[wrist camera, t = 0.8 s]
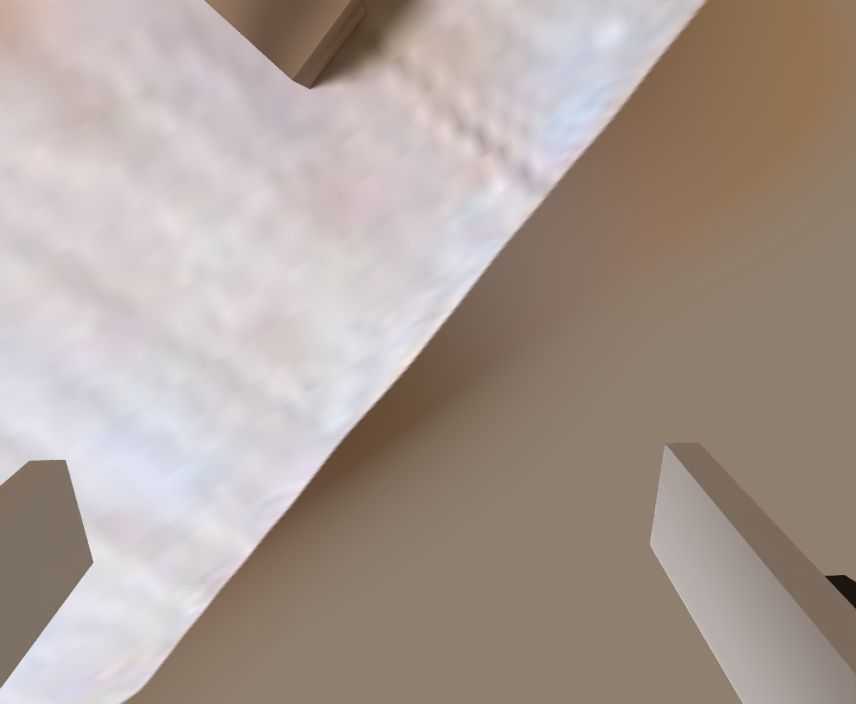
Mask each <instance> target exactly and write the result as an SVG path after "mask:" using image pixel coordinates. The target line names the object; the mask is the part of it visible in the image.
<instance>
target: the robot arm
mask: <svg viewBox="0 0 856 704" xmlns="http://www.w3.org/2000/svg"><path fill="white" fill-rule="evenodd" d="M650 546H651V548H652V549H653V551H654V553H655V555H656V556H657V558H658V560H659V561H660V563H661V565H662V566H663V568H664V570H665V571H666V573H667V575H668V577H669V578H670V580H671V581H672V584H673V585H674V587H675V589H676V590H677V592H678V594H679V596H680V597H681V599H682V601H683V602H684V604H685V606H686V607H687V609H688V611H689V613H690V614H691V616H692V618H693V619H694V621H695V623H696V624H697V626H698V628H699V630H700V631H701V633H702V635H703V637H704V638H705V640H706V642H707V643H708V645H709V647H710V648H711V650H712V652H713V654H714V655H715V657H716V658H717V660H718V662H719V664H720V666H721V667H722V669H723V671H724V672H725V674H726V676H727V678H728V679H729V681H730V683H731V684H732V686H733V688H734V689H735V691H736V693H737V695H738V696H739V698H740V700H741V701H742V703H743V704H856V582H855V581H853V580H852V579H850V578H848V577H847V576H845V575H836V576H824V575H823V574H822V573H821V572H820V571H819V570H818V568H817V567H816V566H815V565H814V564H813V563H812V562H811V561H810V560H809V559H808V558H807V557H806V556H805V555H804V554H803V553H802V551H800V549H799V548H798V547H797V546H796V545H795V544H794V543H793V542H792V541H791V540H790V539H789V538H788V537H787V535H786V534H784V532H783V531H782V530H781V529H780V528H779V527H778V526H777V525H776V524H775V523H774V522H773V521H772V520H771V518H770V517H769V516H768V515H767V514H766V513H765V512H764V511H763V510H762V509H761V508H760V507H759V506H758V505H757V504H756V503H755V501H754V500H753V499H752V498H751V497H750V496H749V495H748V494H747V493H746V492H745V491H744V490H743V489H742V488H741V487H740V485H739V484H738V483H737V482H736V481H735V480H734V479H733V478H732V477H731V476H730V475H729V474H728V473H727V472H726V471H725V470H724V469H723V467H721V465H720V464H719V463H718V462H717V461H716V460H715V459H714V458H713V457H712V456H711V455H710V454H709V452H708V451H707V450H706V449H705V448H704V447H703V446H702V445H701V444H700V443H666V444H665V448H664V455H663V462H662V468H661V475H660V481H659V488H658V494H657V501H656V508H655V514H654V521H653V527H652V534H651V541H650ZM92 564H93V559H92V556H91V552H90V548H89V545H88V541H87V537H86V534H85V530H84V526H83V523H82V519H81V515H80V511H79V508H78V504H77V500H76V497H75V493H74V489H73V486H72V482H71V478H70V475H69V471H68V467H67V464H66V460H42V461H29V462H28V463H26V464H25V465H24V466H23V467H22V468H21V469H19V470H18V471H17V472H16V473H15V474H14V475H13V476H11V477H10V478H9V479H8V480H7V481H6V482H4V483H3V484H2V485H1V486H0V688H1V687H2V686H3V684H4V683H5V682H6V680H7V679H8V678H9V676H10V675H11V673H12V672H13V671H14V669H15V668H16V667H17V665H18V664H19V663H20V661H21V660H22V659H23V657H24V656H25V654H26V653H27V652H28V650H29V649H30V648H31V646H32V645H33V644H34V642H35V641H36V640H37V638H38V637H39V635H40V634H41V633H42V631H43V630H44V629H45V627H46V626H47V625H48V623H49V622H50V621H51V619H52V618H53V616H54V615H55V614H56V612H57V611H58V610H59V608H60V607H61V606H62V604H63V603H64V602H65V600H66V599H67V597H68V596H69V595H70V593H71V592H72V591H73V589H74V588H75V587H76V585H77V584H78V583H79V581H80V580H81V578H82V577H83V576H84V574H85V573H86V572H87V570H88V569H89V568H90V566H91V565H92Z"/></svg>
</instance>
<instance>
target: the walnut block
mask: <svg viewBox="0 0 856 704" xmlns="http://www.w3.org/2000/svg"><path fill="white" fill-rule="evenodd" d="M205 1H206V2H207V3H208V4H209V5H210V6H211V7H212V8H213V9H215V10H216V11H217V12H218V13H219V14H220V15H221V16H222V17H223V18H224V19H226V20H227V21H228V22H229V23H230V24H231V25H232V26H233V27H234V28H235V29H237V30H238V31H239V32H240V33H241V34H242V35H243V36H244V37H245V38H246V39H248V40H249V41H250V42H251V43H252V44H253V45H254V46H255V47H256V48H257V49H258V50H260V51H261V52H262V53H263V54H264V55H265V56H266V57H267V58H268V59H269V60H271V61H272V62H273V63H274V64H275V65H276V66H277V67H278V68H279V69H280V70H282V71H283V72H284V73H285V74H286V75H287V76H288V77H289V78H290V79H291V80H293V81H295V82H297V83H299V84H301V85H303V86H305V87H307V88H308V89H310V88H311V87H312V86H313V84H314V83H315V82H316V80H317V79H318V78H319V76H320V75H321V74H322V72H323V71H324V70H325V68H326V67H327V66H328V64H329V63H330V62H331V60H332V59H333V58H334V56H335V55H336V54H337V52H338V51H339V50H340V48H341V47H342V46H343V44H344V43H345V42H346V40H347V39H348V38H349V36H350V35H351V34H352V32H353V31H354V30H355V28H356V27H357V26H358V24H359V23H360V22H361V20H362V19H363V18H364V16H365V15H366V14H367V13H366V10H365V7H364V4H363V2H362V0H205Z"/></svg>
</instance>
